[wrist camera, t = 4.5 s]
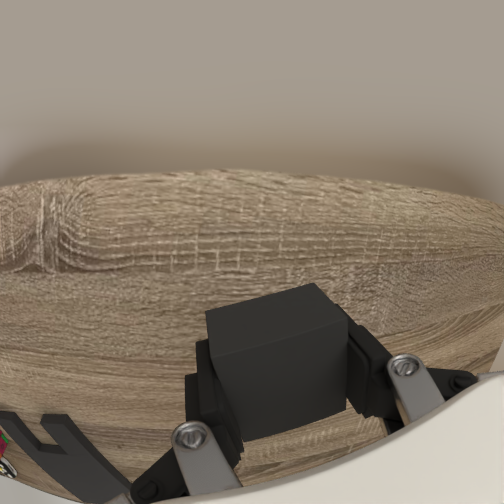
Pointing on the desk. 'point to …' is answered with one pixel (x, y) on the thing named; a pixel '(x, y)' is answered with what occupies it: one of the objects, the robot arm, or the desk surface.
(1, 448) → the block
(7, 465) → the remote control
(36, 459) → the big pad
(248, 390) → the small black box
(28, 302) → the desk surface
